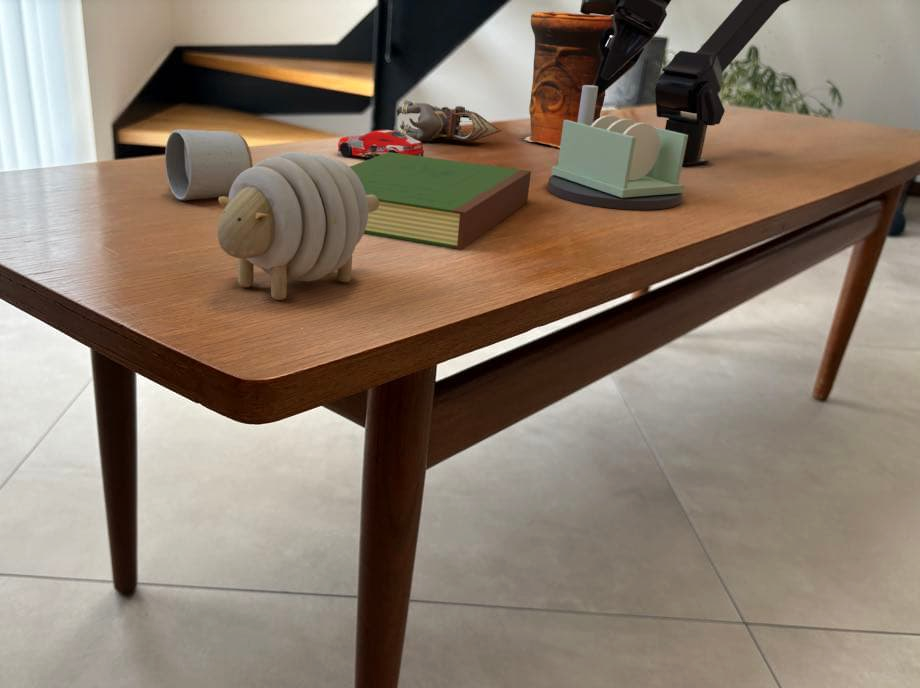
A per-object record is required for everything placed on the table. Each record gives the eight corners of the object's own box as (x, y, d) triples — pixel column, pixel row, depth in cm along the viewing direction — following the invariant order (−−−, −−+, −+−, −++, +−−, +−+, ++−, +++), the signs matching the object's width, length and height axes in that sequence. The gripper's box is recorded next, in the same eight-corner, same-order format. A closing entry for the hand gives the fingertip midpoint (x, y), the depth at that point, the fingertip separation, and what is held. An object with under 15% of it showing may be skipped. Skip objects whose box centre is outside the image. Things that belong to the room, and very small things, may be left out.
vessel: (500, 139, 148) (514, 10, 140) (544, 132, 158) (560, 10, 149) (575, 153, 140) (595, 16, 131) (617, 144, 150) (638, 16, 141)
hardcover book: (461, 249, 88) (465, 212, 86) (296, 221, 94) (296, 186, 93) (528, 200, 109) (532, 170, 107) (389, 180, 115) (391, 151, 113)
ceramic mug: (257, 200, 102) (256, 131, 98) (191, 207, 97) (187, 135, 94) (217, 183, 109) (215, 118, 106) (154, 188, 105) (150, 121, 102)
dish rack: (543, 171, 118) (555, 85, 114) (601, 168, 123) (614, 84, 118) (621, 197, 106) (638, 102, 101) (682, 192, 111) (701, 101, 106)
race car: (330, 155, 129) (330, 127, 127) (349, 150, 133) (350, 123, 131) (409, 167, 123) (411, 138, 121) (427, 162, 128) (429, 133, 126)
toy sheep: (184, 289, 73) (177, 152, 68) (323, 251, 85) (326, 132, 80) (274, 323, 67) (273, 176, 62) (409, 277, 79) (418, 150, 74)
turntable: (605, 175, 125) (606, 167, 125) (708, 201, 113) (710, 192, 113) (520, 186, 116) (521, 177, 115) (622, 216, 104) (623, 206, 103)
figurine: (410, 96, 153) (507, 104, 150) (407, 132, 155) (502, 141, 153) (388, 102, 135) (498, 112, 132) (385, 143, 137) (493, 153, 134)
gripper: (594, -18, 131) (541, 78, 133) (616, -74, 112) (555, 38, 114) (660, 17, 130) (607, 113, 132) (694, -34, 112) (631, 79, 114)
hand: (599, 87), depth 123 cm, fingers open, 9 cm apart
